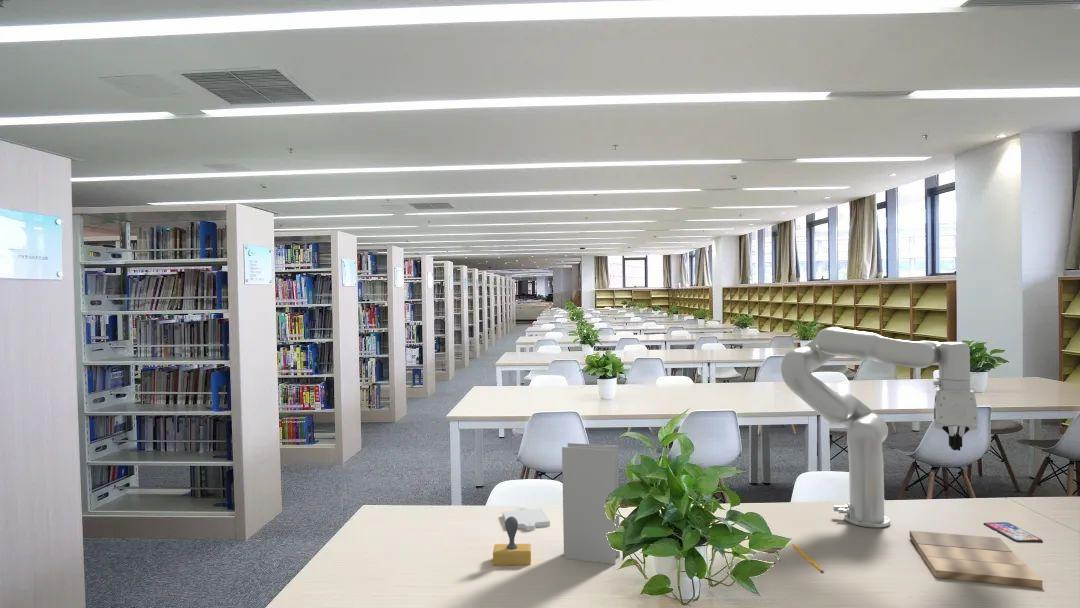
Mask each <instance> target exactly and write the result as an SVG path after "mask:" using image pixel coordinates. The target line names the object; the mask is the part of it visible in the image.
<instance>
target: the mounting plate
mask: <svg viewBox="0 0 1080 608" xmlns="http://www.w3.org/2000/svg"><path fill="white" fill-rule="evenodd" d="M501 515H502V518H503V521H504V522H506V520H507V518H508V517H511V516H512V517H515V518H516V519H517V521H518V529H517V530H520V529H521V530H525V531H527V532H533V531H536V528H546V527H551V521H550V519H549V517H548V516H547V514H546V513H545V511H544V510H543V509H542V508H532V509H531V508H530V509H528V508H526V507H516V510H508V511H507V510H506V511H502V514H501Z"/></svg>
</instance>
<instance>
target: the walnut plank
mask: <svg viewBox="0 0 1080 608" xmlns="http://www.w3.org/2000/svg"><path fill="white" fill-rule="evenodd" d="M909 538H910V540H911V541H912V544H913V545H914V547H915V548H916V550H917V551H918V544H923V545H935V546H946V547H958V548H969V549H981V550H992V551H1004V552H1013V551H1012V549H1011V548H1010V547H1009V546H1008V545H1007V544H1006V543H1005V542H1004V540H1002V538H1001V537H992V536H983V535H982V536H979V535H969V534H958V533H957V534H955V533H945V532H944V533H942V532H931V531H920V530H909Z"/></svg>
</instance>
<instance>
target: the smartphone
mask: <svg viewBox="0 0 1080 608" xmlns="http://www.w3.org/2000/svg"><path fill="white" fill-rule="evenodd" d="M983 525H984V526H986V527H987V528H989V529H991V530H993V531H994V532H996V531H997V533H998V534H1001V536H1004V537H1006V538H1007V539H1009V540H1011V541H1013V542H1015V543H1044V542H1043V539H1041V538H1039V537H1037V536H1036V535H1034V534H1031V533H1029V532H1028V531H1026V530H1023V529H1022V528H1020V527H1018V526H1016V525H1014V524H1012V523H1011V522H1006V521H1005V522H1003V521H1002V522H1001V521H1000V522H999V521H998V522H983Z"/></svg>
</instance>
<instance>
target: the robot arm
mask: <svg viewBox="0 0 1080 608" xmlns="http://www.w3.org/2000/svg"><path fill="white" fill-rule="evenodd" d="M970 352H971V349H970V346H969V344H968V343H966V342H959V341H944V342H939V341H933V340H919V341H911V340H904V339H894V338H889V337H885V336H882V335H880V334H878V333H876V332H875V333H874V332H869V331H859V330H852V329H846V328H845V329H844V328H842V327H839V326H830V327H825V328H822V329H820V330H819V332H818V333H817V335H816V337H815V338H814V339H812V340H811V341H809V342H808V343H806V344H805V345H803V346H801V347H797V348H793V349H791V350H789V351H788V352H786V353H785V355H784V356H783V359H782V361H781V366H780V372H781V378H782V381H784V383H785V385H786V386H787V387H788V389H790V391H791V392H793V394H795V395H796V396H797V397H798V398H799V399H801V400H802V401H804V403H805V404H807V406H809V408H811V409H812V410H814V411H815V412H816V413H817V414H819V415H820V416H821V418H823V419H824V420H825V421H827V422H828V423H829V424H832V425H836V426H837V425H844V426H845V427H846V428H847V432H846V443H847V452H848V471H849V476H848V477H849V479H848V480H849V483H848V484H849V502H847V504H844V505H838V504H837V505H836V504H833V512H838V514H844V515H843V516H844V519H845V521H847V522H848V523H850V524H853V525H856V526H860V527H865V528H878V529H879V528H885V527H888V526H890V525H891V519H890V518H889V517H888V516H887V515H885V482H884V481H885V476H884V456H883V455H884V454H883V443H884V441H885V440H886V439H887V437H888V435H889V426H888V425H887V422H886V421H885V420H884V418H882V417H881V416H880V415H879V414H878V413H876V412H875V411H874V410H873V409H871V408H870V407H869V406H867V404H865V403H864V402H862V401H861V400H859V398H857V397H856V396H854V395H852V394H851V393H849V392H846V391H834V390H833V389H832V388H831V387H830V386H828V385H827V384H826V383H825V382H823V381H822V380H820V379H819V378H817V377H816V376H814V375H813V374H812V373H811V372H813V371H815V370H817V369H818V368H820V367H821V366H824V365H825V364H826V363H828V362H829V361H831V360H833V359H834V358H836V357H837V356H839V357H846V358H853V359H859V360H865V361H871V362H876V363H883V364H886V365H894V366H899V367H906V368H912V369H925V368H928V367H930V366H938V378H937V380H933V382H932V383H933V384H932V385H933V386H936V387H938V388H937V389H936V391H935V396H934V404H933V420H934V421H933V427H934V428H935V429H939V430H943V431H944V432H945V433H946V434H947V435H948V446H949V447H950V449H951V450H953V451H961V448H962V447H963V437H964V436H965V434H967V433H968V432H970V431H975V430H978V424H979V417H978V416H979V414H978V407H977V399H976V395H975V391H974V390H971V355H970V354H971V353H970ZM954 427H956V432H955V430H954Z"/></svg>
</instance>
